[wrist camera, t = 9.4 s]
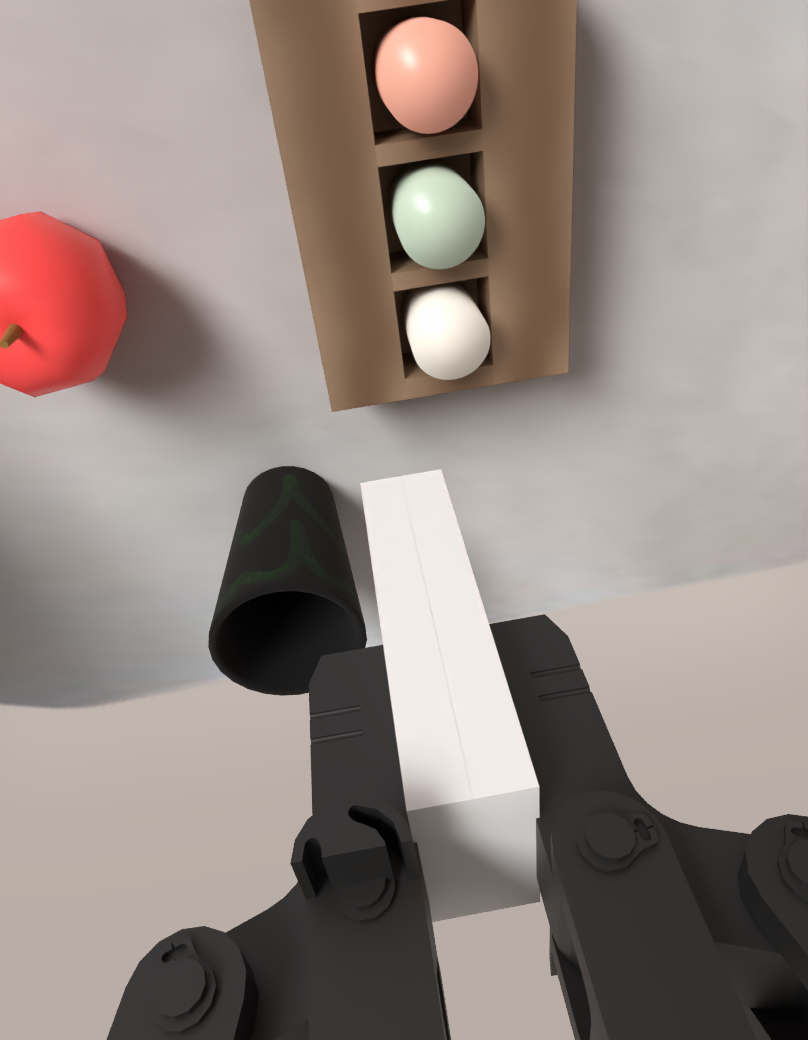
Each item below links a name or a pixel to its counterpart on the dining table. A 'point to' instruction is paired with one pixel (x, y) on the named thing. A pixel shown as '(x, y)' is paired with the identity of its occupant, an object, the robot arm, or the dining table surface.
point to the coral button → (424, 73)
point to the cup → (285, 586)
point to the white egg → (445, 330)
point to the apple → (55, 305)
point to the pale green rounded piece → (435, 214)
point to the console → (391, 146)
